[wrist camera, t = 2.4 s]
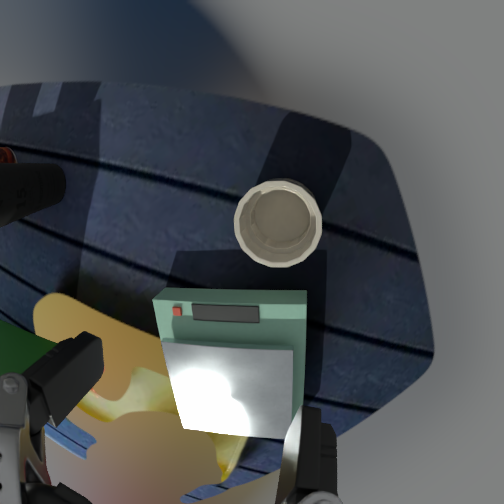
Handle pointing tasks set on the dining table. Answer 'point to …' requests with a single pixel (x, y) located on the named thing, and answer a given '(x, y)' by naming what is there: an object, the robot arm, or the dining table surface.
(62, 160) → the dining table surface
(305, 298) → the scale
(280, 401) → the scale pan
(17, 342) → the hardback book
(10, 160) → the canned food
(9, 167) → the drinking cup
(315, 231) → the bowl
